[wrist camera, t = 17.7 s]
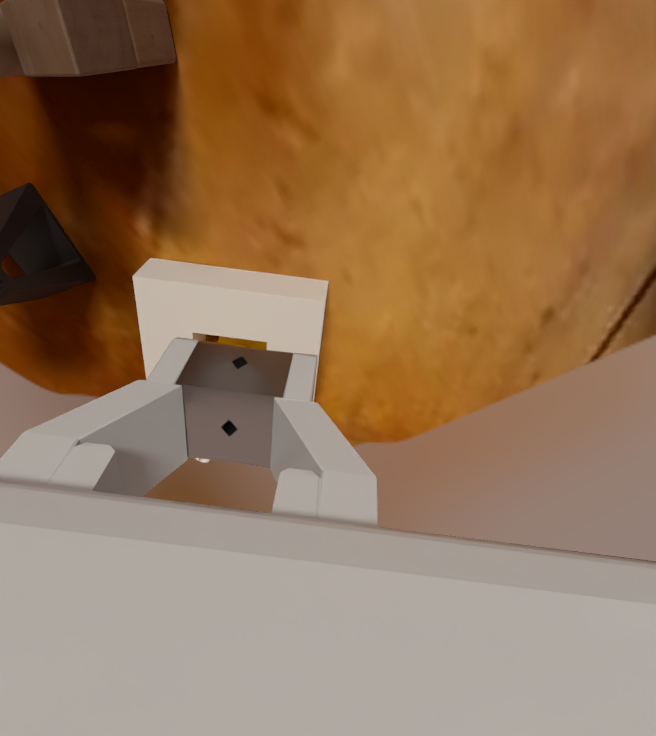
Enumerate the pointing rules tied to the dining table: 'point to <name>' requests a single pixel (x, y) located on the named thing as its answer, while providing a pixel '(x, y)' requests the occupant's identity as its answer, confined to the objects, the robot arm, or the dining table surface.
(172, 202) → the dining table surface
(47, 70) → the wooden block
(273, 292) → the hole board
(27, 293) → the phone stand
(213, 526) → the robot arm
